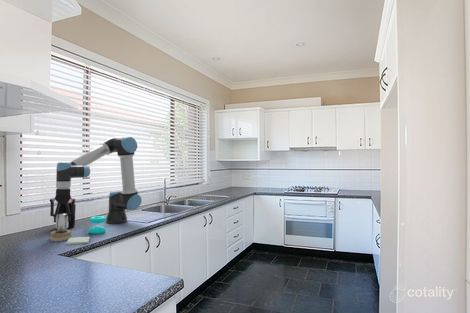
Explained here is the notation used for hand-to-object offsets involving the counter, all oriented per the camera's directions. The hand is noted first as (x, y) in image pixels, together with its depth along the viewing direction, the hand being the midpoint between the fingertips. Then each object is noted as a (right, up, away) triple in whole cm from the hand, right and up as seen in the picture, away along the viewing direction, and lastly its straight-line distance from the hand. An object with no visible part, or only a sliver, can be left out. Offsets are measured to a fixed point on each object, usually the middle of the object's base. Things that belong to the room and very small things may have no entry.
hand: (62, 227), depth 181 cm
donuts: (+13, -7, +17) cm, 23 cm away
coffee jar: (-13, -7, +27) cm, 31 cm away
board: (+12, -7, -5) cm, 15 cm away
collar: (-1, -7, 0) cm, 7 cm away
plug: (0, -5, 0) cm, 5 cm away
